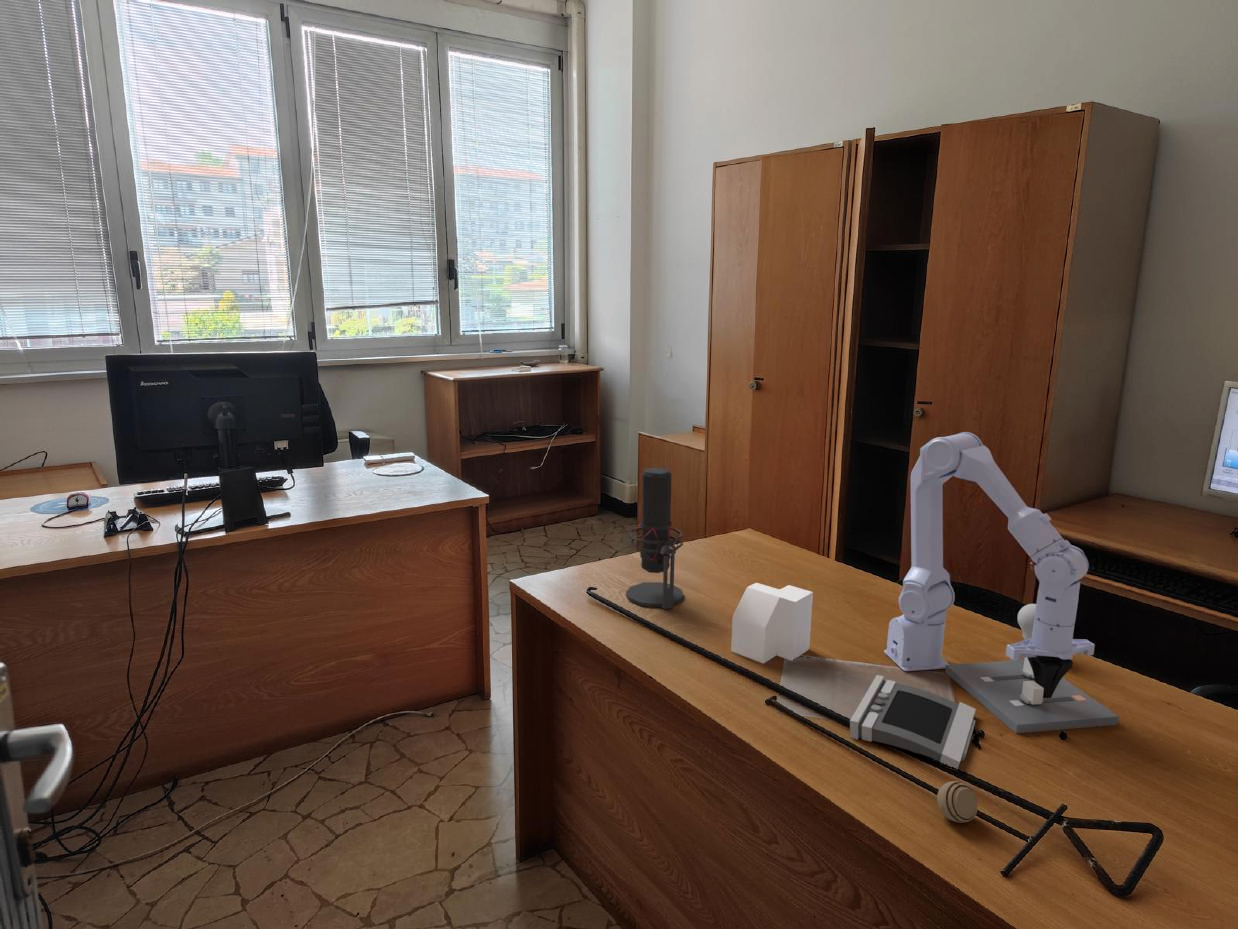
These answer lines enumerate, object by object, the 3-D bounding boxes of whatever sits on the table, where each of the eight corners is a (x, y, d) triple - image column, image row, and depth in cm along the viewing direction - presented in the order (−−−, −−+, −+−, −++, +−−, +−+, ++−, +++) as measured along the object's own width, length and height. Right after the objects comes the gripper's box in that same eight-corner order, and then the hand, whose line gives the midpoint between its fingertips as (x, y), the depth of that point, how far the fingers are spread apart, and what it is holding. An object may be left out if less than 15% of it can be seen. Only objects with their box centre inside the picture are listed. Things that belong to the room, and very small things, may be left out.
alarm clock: (876, 675, 131) (978, 694, 123) (876, 699, 132) (978, 720, 124) (849, 720, 117) (963, 745, 109) (850, 747, 118) (962, 774, 109)
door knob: (935, 825, 98) (939, 792, 97) (934, 802, 103) (938, 770, 102) (977, 835, 96) (981, 801, 95) (974, 811, 101) (978, 778, 100)
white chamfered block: (809, 649, 147) (813, 592, 145) (778, 669, 139) (782, 609, 137) (762, 633, 154) (765, 578, 152) (731, 651, 146) (733, 593, 144)
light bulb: (1052, 661, 143) (1059, 612, 141) (1018, 658, 144) (1024, 609, 142) (1041, 647, 148) (1048, 600, 146) (1009, 644, 149) (1015, 597, 147)
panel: (1016, 733, 119) (1017, 724, 119) (945, 672, 138) (945, 664, 138) (1117, 724, 122) (1118, 716, 121) (1033, 666, 141) (1034, 658, 140)
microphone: (697, 594, 174) (701, 469, 168) (670, 614, 163) (673, 481, 156) (644, 581, 182) (646, 461, 175) (614, 600, 171) (615, 472, 164)
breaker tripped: (1028, 704, 124) (1030, 689, 123) (1018, 696, 126) (1020, 681, 126) (1045, 703, 124) (1047, 688, 124) (1034, 695, 127) (1036, 680, 126)
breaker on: (1029, 678, 132) (1031, 664, 132) (1019, 671, 135) (1021, 657, 134) (1044, 677, 133) (1047, 663, 132) (1035, 670, 135) (1036, 656, 135)
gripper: (1030, 632, 118) (1020, 711, 121) (1113, 627, 120) (1101, 704, 123) (1001, 614, 124) (992, 688, 127) (1080, 609, 126) (1069, 683, 129)
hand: (1043, 695), depth 125 cm, fingers closed
